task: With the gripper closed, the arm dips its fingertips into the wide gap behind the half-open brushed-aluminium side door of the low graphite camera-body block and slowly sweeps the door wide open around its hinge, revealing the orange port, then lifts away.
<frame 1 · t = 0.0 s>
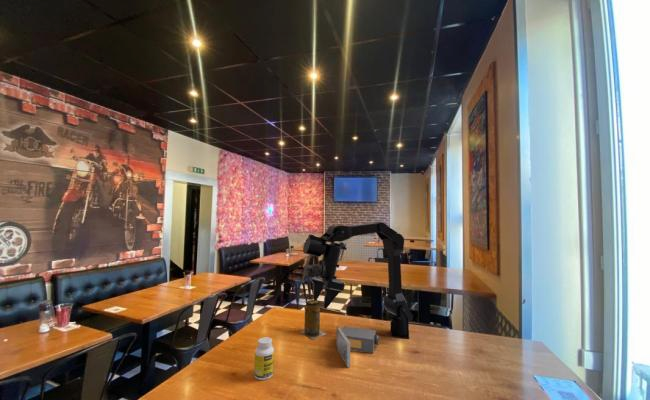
hand: (319, 304, 92), 15 cm above the table, tool pointing down, fingers open, 9 cm apart
supplement bottle: (263, 375, 76), on the table
condiment: (313, 333, 105), on the table
side door: (342, 346, 86), point 4 cm above the table, hinge at 60.0°
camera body: (357, 345, 95), on the table
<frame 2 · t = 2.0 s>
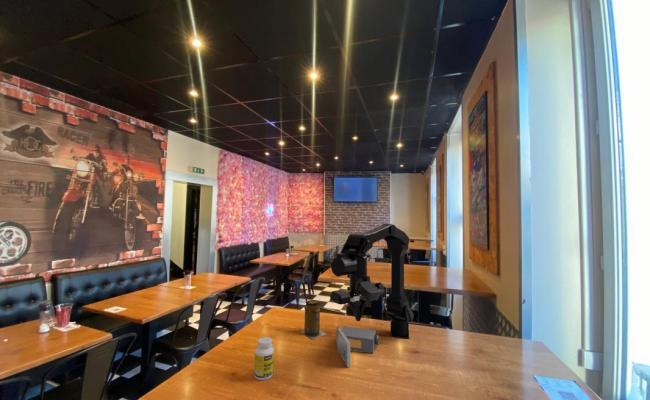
hand: (358, 320, 87), 12 cm above the table, tool pointing down, fingers closed
nothing on the table moved.
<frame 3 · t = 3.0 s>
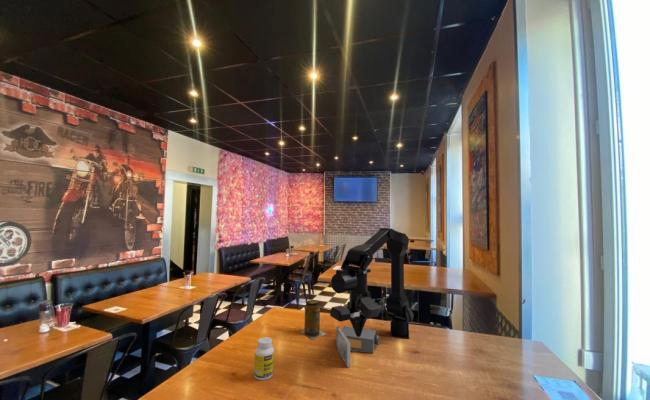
hand: (358, 336, 86), 7 cm above the table, tool pointing down, fingers closed
nothing on the table moved.
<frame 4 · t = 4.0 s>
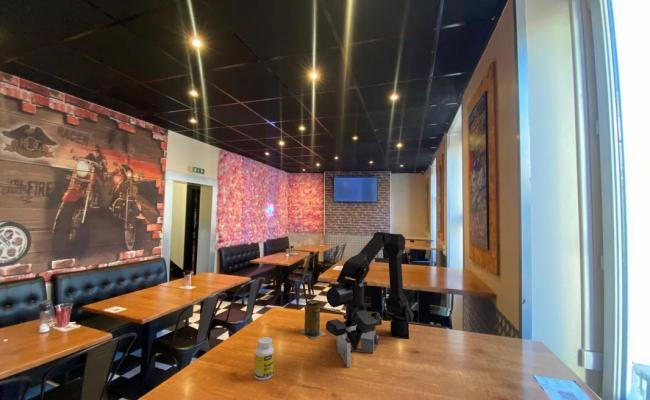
hand: (354, 350, 85), 3 cm above the table, tool pointing down, fingers closed
side door: (342, 346, 86), point 4 cm above the table, hinge at 60.1°, touching gripper
everything else where it was.
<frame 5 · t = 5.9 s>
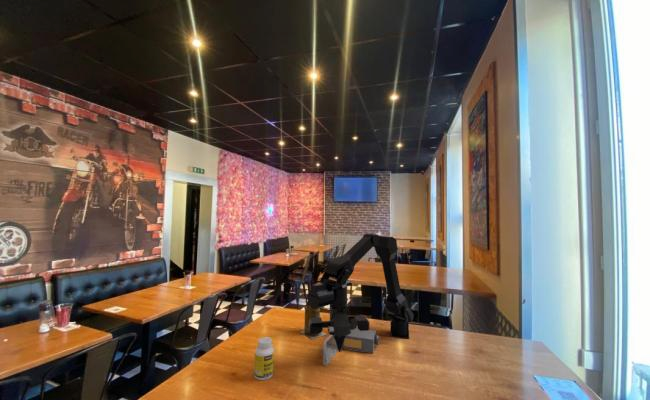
hand: (339, 351, 84), 3 cm above the table, tool pointing down, fingers closed
side door: (330, 345, 87), point 4 cm above the table, hinge at 95.9°, touching gripper
everything else where it was.
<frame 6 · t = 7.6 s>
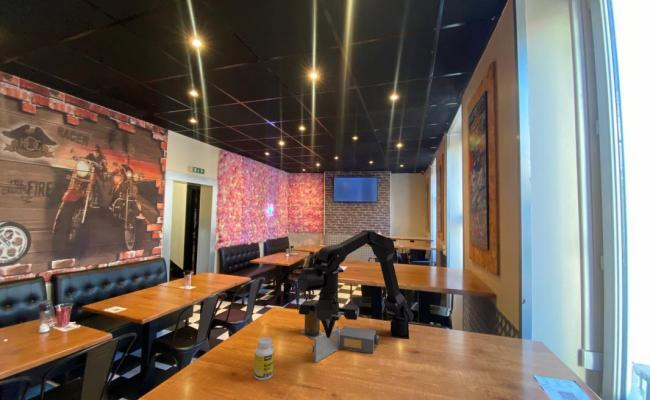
hand: (328, 337, 84), 7 cm above the table, tool pointing down, fingers closed
side door: (325, 343, 88), point 4 cm above the table, hinge at 113.7°
everything else where it was.
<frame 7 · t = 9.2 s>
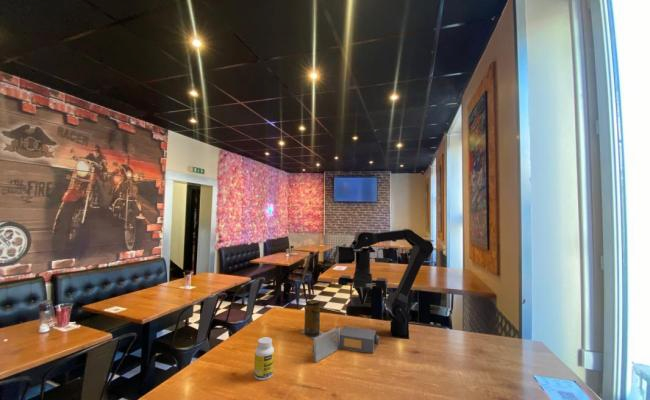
hand: (362, 304, 104), 12 cm above the table, tool pointing down, fingers closed
nothing on the table moved.
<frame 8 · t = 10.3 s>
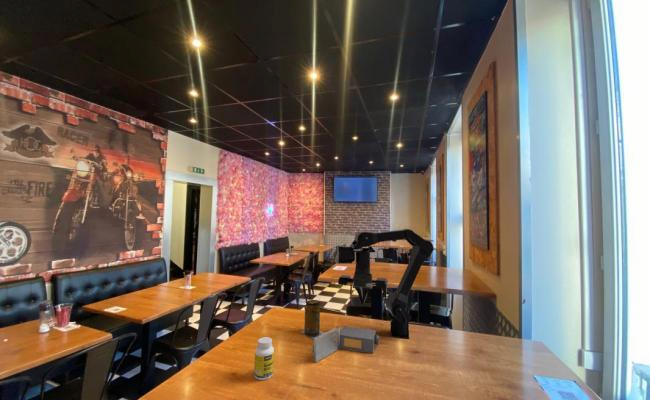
hand: (362, 304, 104), 12 cm above the table, tool pointing down, fingers closed
nothing on the table moved.
at the end: side door at +114° (first picture: +60°); side door touching nothing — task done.
